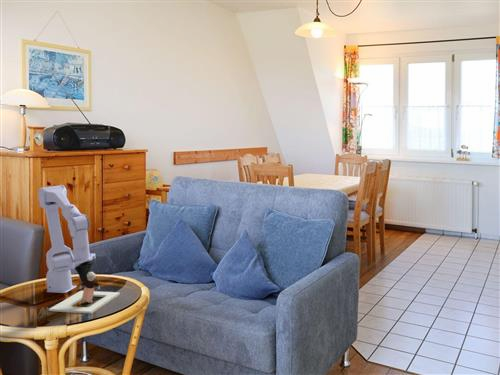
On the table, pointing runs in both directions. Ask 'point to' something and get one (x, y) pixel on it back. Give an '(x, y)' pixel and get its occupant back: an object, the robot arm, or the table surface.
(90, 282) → the grandmother figurine
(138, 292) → the table surface
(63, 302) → the pale rectangular frame
